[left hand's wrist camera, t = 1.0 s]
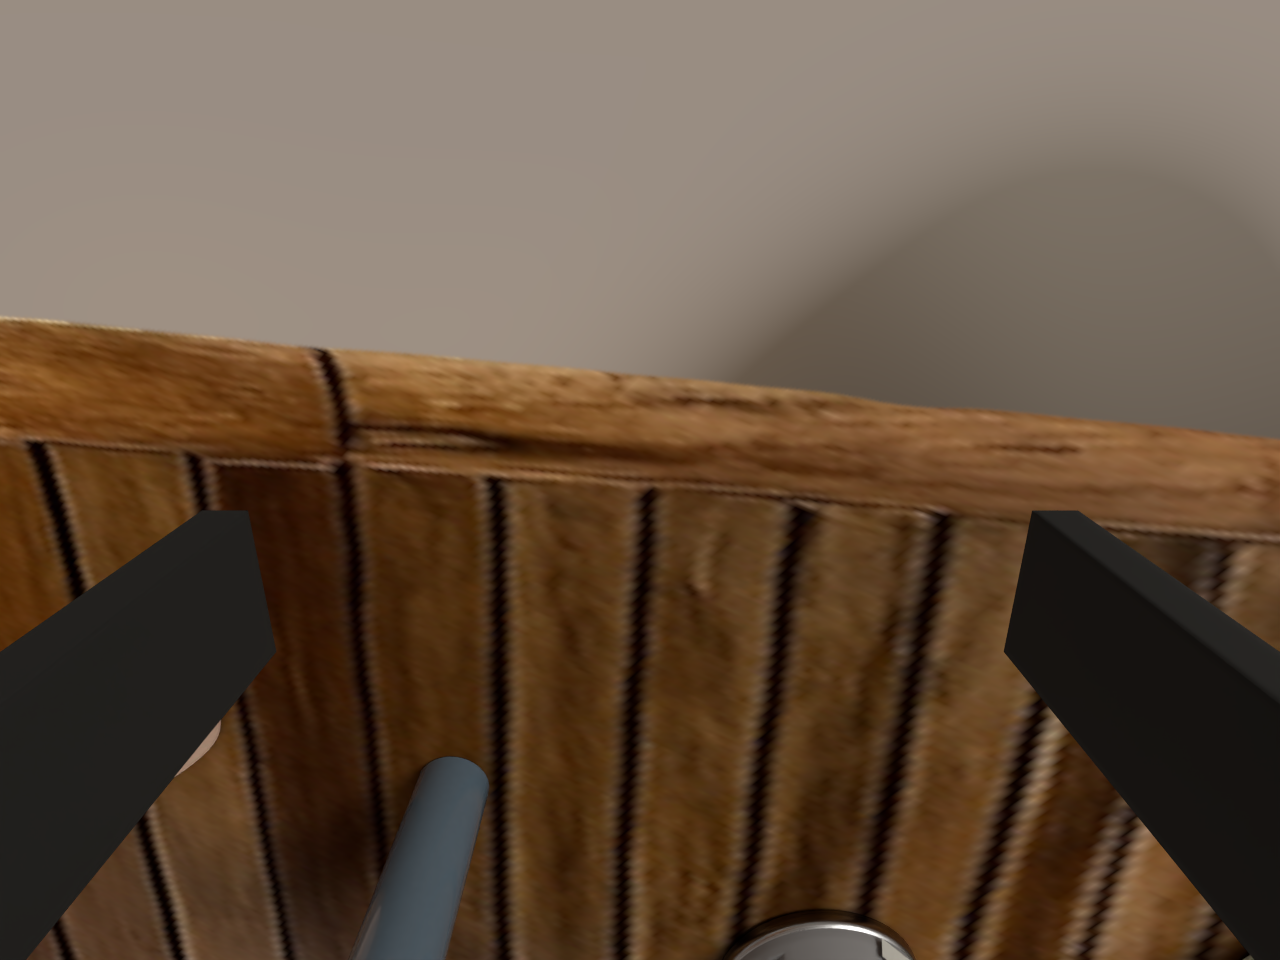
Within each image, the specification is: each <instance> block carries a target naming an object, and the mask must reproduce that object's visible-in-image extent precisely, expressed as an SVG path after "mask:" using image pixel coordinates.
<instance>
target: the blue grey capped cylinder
mask: <svg viewBox="0 0 1280 960" xmlns="http://www.w3.org/2000/svg"><path fill="white" fill-rule="evenodd" d="M488 793H489V782H488V779H487V777H486V775H485V773H484V772H483V770H482V769H481V768H480V767H479V766H477V765H476V764H474V763H473V762H471V761H469V760H467V759H464V758H460V757H442V758H438V759H435V760H433V761H431V762H430V763H428V764H427V765H426V766H425V767H424V768H423V769H422V771H421V772H420V775H419V777H418V780H417V782H416V785H415V788H414V790H413V793H412V795H411V798H410V800H409V803H408V806H407V808H406V811H405V813H404V816H403V819H402V821H401V824H400V826H399V829H398V832H397V834H396V837H395V839H394V842H393V844H392V847H391V850H390V852H389V855H388V857H387V860H386V863H385V865H384V868H383V870H382V873H381V876H380V878H379V881H378V883H377V886H376V888H375V891H374V894H373V896H372V899H371V901H370V904H369V907H368V909H367V912H366V914H365V917H364V920H363V922H362V925H361V927H360V930H359V932H358V935H357V938H356V940H355V943H354V945H353V948H352V951H351V953H350V956H349V958H348V960H446V956H447V952H448V948H449V944H450V940H451V936H452V932H453V929H454V925H455V921H456V917H457V913H458V909H459V905H460V901H461V897H462V894H463V890H464V886H465V882H466V878H467V874H468V870H469V866H470V862H471V859H472V855H473V851H474V847H475V843H476V839H477V835H478V831H479V828H480V824H481V820H482V816H483V812H484V808H485V804H486V800H487V796H488Z"/></svg>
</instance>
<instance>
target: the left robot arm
mask: <svg viewBox="0 0 1280 960" xmlns="http://www.w3.org/2000/svg"><path fill="white" fill-rule="evenodd" d="M275 652H276V648H275V643H274V638H273V633H272V628H271V623H270V618H269V613H268V608H267V604H266V599H265V594H264V589H263V584H262V579H261V574H260V569H259V564H258V559H257V554H256V549H255V544H254V539H253V534H252V529H251V524H250V519H249V514H248V511H201V512H199V513H198V514H197V515H195V516H194V517H192V518H191V519H189V520H188V521H187V522H185V523H184V524H182V525H181V526H179V527H178V528H177V529H175V530H174V531H172V532H171V533H169V534H168V535H167V536H165V537H164V538H162V539H161V540H159V541H158V542H157V543H155V544H154V545H152V546H151V547H149V548H148V549H147V550H145V551H144V552H142V553H141V554H139V555H138V556H137V557H135V558H134V559H132V560H131V561H129V562H128V563H127V564H125V565H124V566H122V567H121V568H119V569H118V570H117V571H115V572H114V573H112V574H111V575H109V576H108V577H107V578H105V579H104V580H102V581H101V582H99V583H98V584H97V585H95V586H94V587H92V588H91V589H90V590H88V591H87V592H85V593H84V594H82V595H81V596H80V597H78V598H77V599H75V600H74V601H72V602H71V603H70V604H68V605H67V606H65V607H64V608H62V609H61V610H60V611H58V612H57V613H55V614H54V615H52V616H51V617H50V618H48V619H47V620H45V621H44V622H42V623H41V624H40V625H38V626H37V627H35V628H34V629H32V630H31V631H30V632H28V633H27V634H25V635H24V636H22V637H21V638H20V639H18V640H17V641H15V642H14V643H12V644H11V645H10V646H8V647H7V648H5V649H4V650H2V651H1V652H0V960H26V959H27V958H28V957H29V955H30V954H31V953H32V952H33V950H34V949H35V948H36V947H37V945H38V944H39V943H40V942H41V941H42V939H43V938H44V937H45V936H46V934H47V933H48V932H49V931H50V929H51V928H52V927H53V926H54V925H55V923H56V922H57V921H58V920H59V918H60V917H61V916H62V915H63V913H64V912H65V911H66V910H67V909H68V907H69V906H70V905H71V904H72V902H73V901H74V900H75V899H76V897H77V896H78V895H79V894H80V893H81V891H82V890H83V889H84V888H85V886H86V885H87V884H88V883H89V881H90V880H91V879H92V878H93V877H94V875H95V874H96V873H97V872H98V870H99V869H100V868H101V867H102V865H103V864H104V863H105V862H106V861H107V859H108V858H109V857H110V856H111V854H112V853H113V852H114V851H115V849H116V848H117V847H118V846H119V845H120V843H121V842H122V841H123V840H124V838H125V837H126V836H127V835H128V833H129V832H130V831H131V830H132V829H133V827H134V826H135V825H136V824H137V822H138V821H139V820H140V819H141V817H142V816H143V815H144V814H145V813H146V811H147V810H148V809H149V808H150V806H151V805H152V804H153V803H154V801H155V800H156V799H157V798H158V797H159V795H160V794H161V793H162V792H163V790H164V789H165V788H166V787H167V785H168V784H169V783H170V782H171V781H172V779H173V778H174V777H175V776H176V774H177V773H178V772H179V771H180V769H181V768H182V767H183V766H184V764H185V763H186V762H187V761H188V760H189V758H190V757H191V756H192V755H193V753H194V752H195V751H196V750H197V748H198V747H199V746H200V745H201V744H202V742H203V741H204V740H205V739H206V737H207V736H208V735H209V734H210V732H211V731H212V730H213V729H214V728H215V726H216V725H217V724H218V723H219V721H220V720H221V719H222V718H223V716H224V715H225V714H226V713H227V712H228V710H229V709H230V708H231V707H232V705H233V704H234V703H235V702H236V700H237V699H238V698H239V697H240V696H241V694H242V693H243V692H244V691H245V689H246V688H247V687H248V686H249V684H250V683H251V682H252V681H253V680H254V678H255V677H256V676H257V675H258V673H259V672H260V671H261V670H262V668H263V667H264V666H265V665H266V664H267V662H268V661H269V660H270V659H271V657H272V656H273V655H274V654H275ZM1004 652H1005V654H1006V655H1007V656H1008V657H1009V659H1010V660H1011V661H1012V662H1013V664H1014V665H1015V666H1016V667H1017V668H1018V670H1019V671H1020V672H1021V673H1022V675H1023V676H1024V677H1025V678H1026V680H1027V681H1028V682H1029V683H1030V684H1031V686H1032V687H1033V688H1034V689H1035V691H1036V692H1037V693H1038V694H1039V696H1040V697H1041V698H1042V699H1043V700H1044V702H1045V703H1046V704H1047V705H1048V707H1049V708H1050V709H1051V710H1052V712H1053V713H1054V714H1055V715H1056V716H1057V718H1058V719H1059V720H1060V721H1061V723H1062V724H1063V725H1064V726H1065V728H1066V729H1067V730H1068V731H1069V732H1070V734H1071V735H1072V736H1073V737H1074V739H1075V740H1076V741H1077V742H1078V744H1079V745H1080V746H1081V747H1082V748H1083V750H1084V751H1085V752H1086V753H1087V755H1088V756H1089V757H1090V758H1091V760H1092V761H1093V762H1094V763H1095V765H1096V766H1097V767H1098V768H1099V769H1100V771H1101V772H1102V773H1103V774H1104V776H1105V777H1106V778H1107V779H1108V781H1109V782H1110V783H1111V784H1112V785H1113V787H1114V788H1115V789H1116V790H1117V792H1118V793H1119V794H1120V795H1121V797H1122V798H1123V799H1124V800H1125V801H1126V803H1127V804H1128V805H1129V806H1130V808H1131V809H1132V810H1133V811H1134V813H1135V814H1136V815H1137V816H1138V817H1139V819H1140V820H1141V821H1142V822H1143V824H1144V825H1145V826H1146V827H1147V829H1148V830H1149V831H1150V832H1151V833H1152V835H1153V836H1154V837H1155V838H1156V840H1157V841H1158V842H1159V843H1160V845H1161V846H1162V847H1163V848H1164V849H1165V851H1166V852H1167V853H1168V854H1169V856H1170V857H1171V858H1172V859H1173V861H1174V862H1175V863H1176V864H1177V865H1178V867H1179V868H1180V869H1181V870H1182V872H1183V873H1184V874H1185V875H1186V877H1187V878H1188V879H1189V880H1190V881H1191V883H1192V884H1193V885H1194V886H1195V888H1196V889H1197V890H1198V891H1199V893H1200V894H1201V895H1202V896H1203V897H1204V899H1205V900H1206V901H1207V902H1208V904H1209V905H1210V906H1211V907H1212V909H1213V910H1214V911H1215V912H1216V913H1217V915H1218V916H1219V917H1220V918H1221V920H1222V921H1223V922H1224V923H1225V925H1226V926H1227V927H1228V928H1229V929H1230V931H1231V932H1232V933H1233V934H1234V936H1235V937H1236V938H1237V939H1238V941H1239V942H1240V943H1241V944H1242V945H1243V947H1244V948H1245V949H1246V950H1247V952H1248V953H1249V954H1250V955H1251V957H1252V958H1253V959H1254V960H1280V652H1279V651H1278V650H1276V649H1275V648H1273V647H1272V646H1270V645H1269V644H1268V643H1266V642H1265V641H1263V640H1262V639H1260V638H1259V637H1258V636H1256V635H1255V634H1253V633H1252V632H1250V631H1249V630H1248V629H1246V628H1245V627H1243V626H1242V625H1240V624H1239V623H1238V622H1236V621H1235V620H1233V619H1232V618H1230V617H1229V616H1228V615H1226V614H1225V613H1223V612H1222V611H1220V610H1219V609H1218V608H1216V607H1215V606H1213V605H1212V604H1210V603H1209V602H1208V601H1206V600H1205V599H1203V598H1202V597H1200V596H1199V595H1198V594H1196V593H1195V592H1193V591H1192V590H1190V589H1189V588H1188V587H1186V586H1185V585H1183V584H1182V583H1181V582H1179V581H1178V580H1176V579H1175V578H1173V577H1172V576H1171V575H1169V574H1168V573H1166V572H1165V571H1163V570H1162V569H1161V568H1159V567H1158V566H1156V565H1155V564H1153V563H1152V562H1151V561H1149V560H1148V559H1146V558H1145V557H1143V556H1142V555H1141V554H1139V553H1138V552H1136V551H1135V550H1133V549H1132V548H1131V547H1129V546H1128V545H1126V544H1125V543H1123V542H1122V541H1121V540H1119V539H1118V538H1116V537H1115V536H1113V535H1112V534H1111V533H1109V532H1108V531H1106V530H1105V529H1103V528H1102V527H1101V526H1099V525H1098V524H1096V523H1095V522H1093V521H1092V520H1091V519H1089V518H1088V517H1086V516H1085V515H1083V514H1082V513H1081V512H1079V511H1032V514H1031V519H1030V524H1029V529H1028V534H1027V539H1026V544H1025V549H1024V554H1023V559H1022V564H1021V569H1020V574H1019V579H1018V584H1017V589H1016V594H1015V599H1014V604H1013V608H1012V613H1011V618H1010V623H1009V628H1008V633H1007V638H1006V643H1005V648H1004ZM723 960H916V959H915V957H914V955H913V952H912V950H911V949H910V947H909V946H908V944H907V943H906V942H905V941H904V939H903V938H902V937H901V936H900V935H898V934H897V933H896V932H895V931H894V930H892V929H891V928H890V927H888V926H886V925H884V924H883V923H881V922H879V921H877V920H874V919H872V918H869V917H866V916H863V915H860V914H856V913H851V912H845V911H836V910H814V911H805V912H799V913H794V914H790V915H786V916H782V917H779V918H776V919H774V920H771V921H769V922H766V923H764V924H762V925H760V926H758V927H757V928H755V929H753V930H752V931H750V932H749V933H747V934H746V935H745V936H743V937H742V938H741V939H740V940H739V941H737V942H736V943H735V944H734V945H733V947H732V948H731V949H730V950H729V951H728V953H727V954H726V955H725V957H724V959H723Z"/></svg>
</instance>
